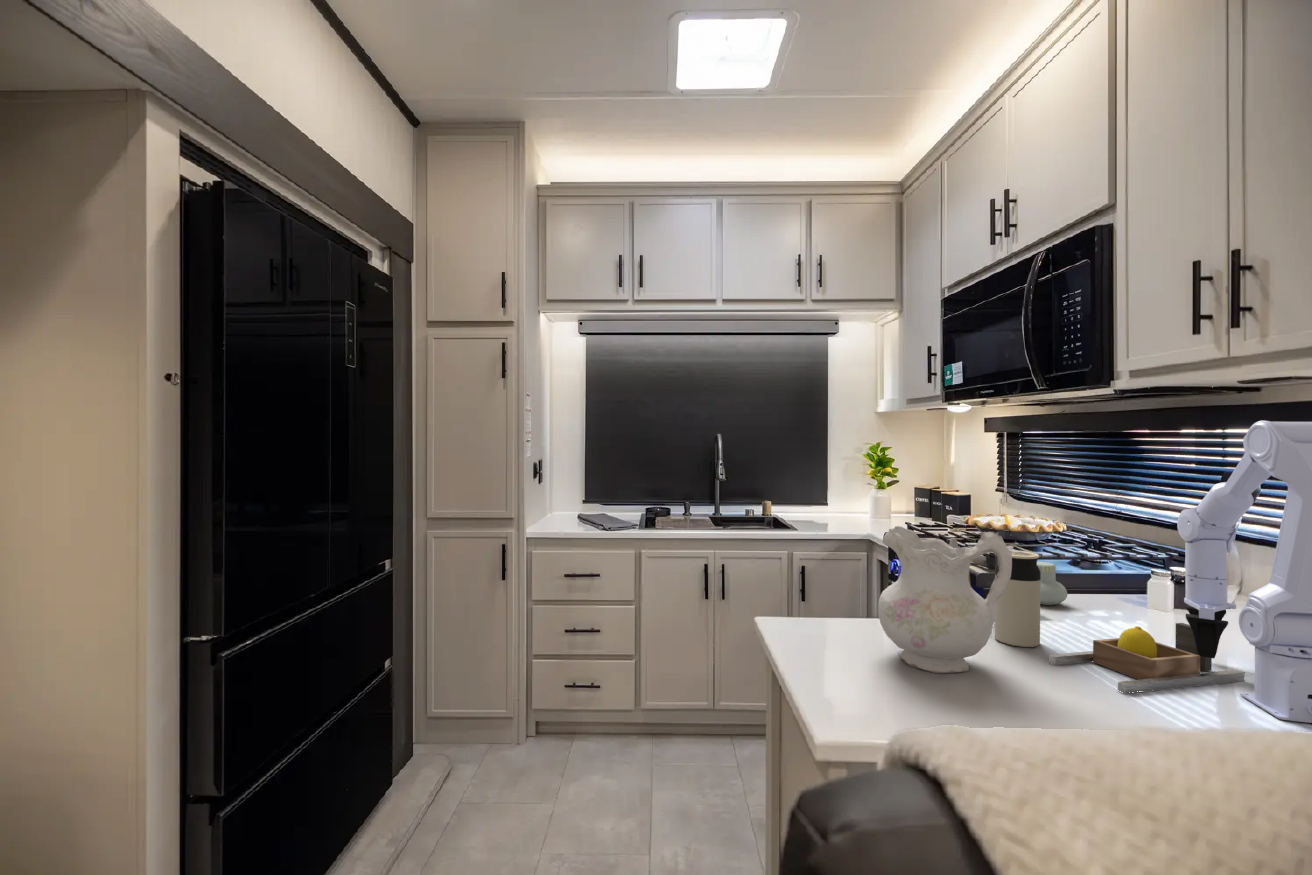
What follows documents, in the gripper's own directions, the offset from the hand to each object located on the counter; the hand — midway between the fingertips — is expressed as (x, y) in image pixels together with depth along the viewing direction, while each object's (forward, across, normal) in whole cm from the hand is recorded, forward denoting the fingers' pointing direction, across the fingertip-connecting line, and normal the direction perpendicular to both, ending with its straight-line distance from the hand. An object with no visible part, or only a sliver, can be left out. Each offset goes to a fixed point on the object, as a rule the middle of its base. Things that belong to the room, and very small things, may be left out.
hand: (1206, 651), depth 112 cm
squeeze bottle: (+2, +3, +44) cm, 44 cm away
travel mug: (+3, -8, +29) cm, 30 cm away
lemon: (+3, -13, +9) cm, 16 cm away
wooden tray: (+3, -8, +6) cm, 11 cm away
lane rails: (+3, -12, +9) cm, 15 cm away
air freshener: (+2, +32, +31) cm, 44 cm away
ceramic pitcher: (+3, -32, +36) cm, 48 cm away
